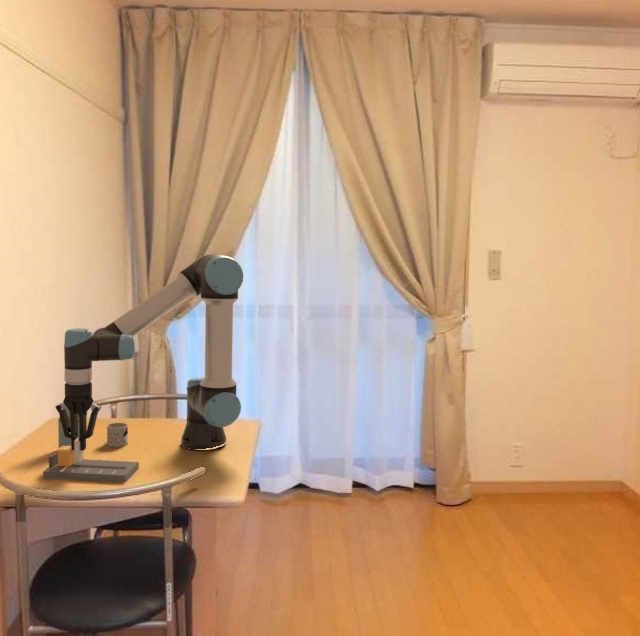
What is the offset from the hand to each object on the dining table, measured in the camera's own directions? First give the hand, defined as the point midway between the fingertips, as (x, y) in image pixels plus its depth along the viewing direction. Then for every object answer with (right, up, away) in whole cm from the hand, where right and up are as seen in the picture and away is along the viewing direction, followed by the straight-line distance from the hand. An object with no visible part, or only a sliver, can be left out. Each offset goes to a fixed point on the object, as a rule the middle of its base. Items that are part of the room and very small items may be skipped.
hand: (78, 460), depth 199 cm
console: (+4, -4, 0) cm, 5 cm away
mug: (+2, -1, +30) cm, 30 cm away
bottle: (-10, -1, +21) cm, 23 cm away
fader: (-4, -1, 0) cm, 4 cm away
